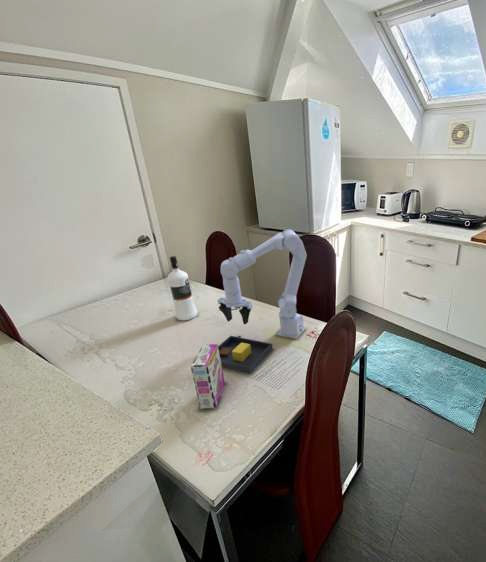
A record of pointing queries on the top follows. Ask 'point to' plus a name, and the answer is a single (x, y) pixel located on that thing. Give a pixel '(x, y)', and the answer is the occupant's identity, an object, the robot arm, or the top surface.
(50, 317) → the top surface
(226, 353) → the scrap
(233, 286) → the robot arm
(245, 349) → the sponge
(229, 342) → the dark grey tray
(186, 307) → the vodka
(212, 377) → the candy bar box
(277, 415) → the top surface
